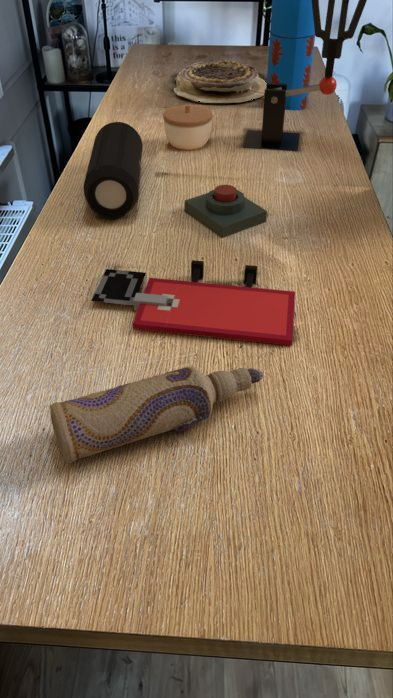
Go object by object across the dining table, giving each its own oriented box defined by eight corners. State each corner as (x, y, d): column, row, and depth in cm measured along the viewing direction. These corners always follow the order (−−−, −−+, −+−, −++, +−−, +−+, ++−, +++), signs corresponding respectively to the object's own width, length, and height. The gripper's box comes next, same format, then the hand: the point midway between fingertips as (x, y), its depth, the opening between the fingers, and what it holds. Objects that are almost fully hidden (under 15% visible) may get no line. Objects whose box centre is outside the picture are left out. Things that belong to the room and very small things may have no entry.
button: (240, 199, 106) (241, 190, 105) (222, 205, 104) (223, 196, 103) (227, 191, 109) (227, 182, 107) (209, 197, 107) (209, 188, 106)
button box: (266, 221, 107) (268, 201, 105) (222, 238, 103) (222, 217, 100) (227, 196, 115) (227, 177, 112) (184, 211, 110) (183, 191, 108)
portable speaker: (140, 223, 107) (135, 170, 101) (85, 224, 107) (77, 172, 100) (144, 163, 126) (141, 116, 120) (98, 164, 126) (92, 117, 120)
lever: (337, 89, 124) (335, 72, 122) (337, 95, 122) (335, 77, 120) (271, 102, 129) (268, 85, 126) (269, 108, 126) (266, 91, 124)
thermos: (256, 105, 153) (263, -6, 136) (283, 95, 158) (293, -12, 142) (288, 115, 147) (299, 1, 130) (315, 105, 152) (329, -6, 136)
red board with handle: (109, 267, 96) (82, 325, 85) (108, 252, 94) (79, 310, 83) (294, 284, 92) (291, 348, 81) (297, 269, 90) (293, 332, 80)
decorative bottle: (67, 479, 65) (57, 439, 60) (53, 431, 70) (43, 391, 66) (275, 413, 72) (280, 373, 68) (249, 373, 77) (251, 334, 73)
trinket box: (167, 159, 128) (165, 115, 122) (162, 140, 136) (160, 98, 130) (216, 155, 129) (216, 112, 123) (207, 137, 137) (207, 95, 131)
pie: (233, 67, 177) (234, 49, 174) (290, 92, 160) (292, 73, 157) (151, 83, 166) (150, 65, 163) (203, 112, 149) (203, 92, 146)
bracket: (299, 139, 136) (305, 80, 127) (296, 156, 129) (303, 96, 120) (247, 135, 138) (250, 78, 129) (242, 153, 130) (245, 93, 122)
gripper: (309, -62, 104) (295, 79, 119) (385, -61, 102) (361, 82, 118) (311, -68, 109) (297, 67, 125) (383, -66, 107) (360, 71, 123)
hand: (328, 74), depth 121 cm, fingers closed
